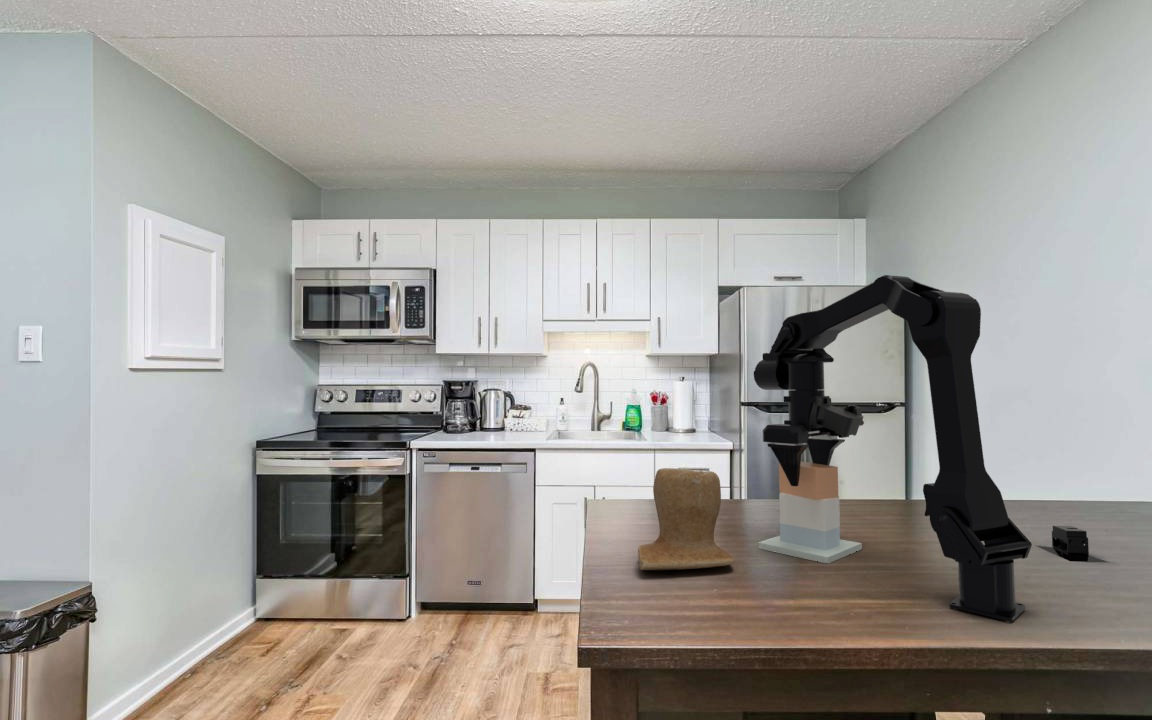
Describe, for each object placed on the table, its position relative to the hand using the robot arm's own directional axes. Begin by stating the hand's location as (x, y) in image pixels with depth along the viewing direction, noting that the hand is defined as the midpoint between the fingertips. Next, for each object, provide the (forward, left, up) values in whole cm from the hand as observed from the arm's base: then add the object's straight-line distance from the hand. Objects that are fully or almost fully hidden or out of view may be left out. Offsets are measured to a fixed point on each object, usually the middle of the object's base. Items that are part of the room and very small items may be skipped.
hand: (808, 482), depth 102 cm
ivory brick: (0, 0, -7) cm, 7 cm away
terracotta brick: (0, 0, -2) cm, 2 cm away
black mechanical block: (+28, -30, -12) cm, 42 cm away
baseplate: (0, 0, -11) cm, 11 cm away
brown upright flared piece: (-23, +9, -11) cm, 27 cm away
